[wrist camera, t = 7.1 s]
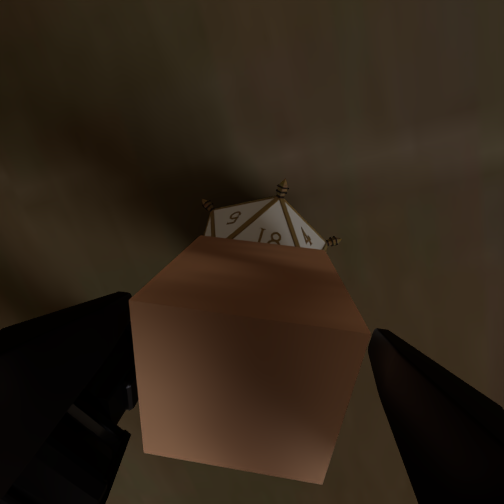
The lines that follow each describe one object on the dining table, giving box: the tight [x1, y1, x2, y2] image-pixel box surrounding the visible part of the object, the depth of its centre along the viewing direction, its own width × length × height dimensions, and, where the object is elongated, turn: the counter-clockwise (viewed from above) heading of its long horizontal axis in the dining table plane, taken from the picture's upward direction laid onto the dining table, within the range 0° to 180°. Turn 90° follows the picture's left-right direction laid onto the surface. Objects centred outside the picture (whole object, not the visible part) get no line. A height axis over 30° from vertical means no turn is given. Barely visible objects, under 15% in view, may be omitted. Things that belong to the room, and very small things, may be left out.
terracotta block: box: [129, 235, 371, 485], centre depth 8 cm, size 5×5×5 cm
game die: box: [202, 178, 342, 251], centre depth 14 cm, size 9×8×10 cm
